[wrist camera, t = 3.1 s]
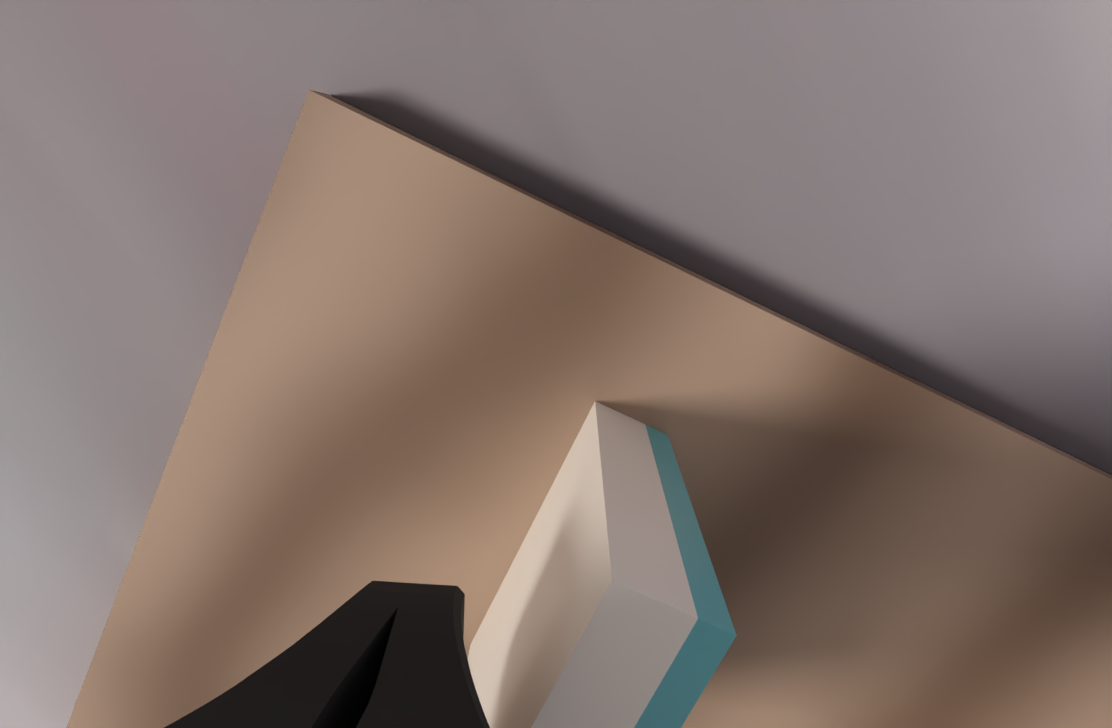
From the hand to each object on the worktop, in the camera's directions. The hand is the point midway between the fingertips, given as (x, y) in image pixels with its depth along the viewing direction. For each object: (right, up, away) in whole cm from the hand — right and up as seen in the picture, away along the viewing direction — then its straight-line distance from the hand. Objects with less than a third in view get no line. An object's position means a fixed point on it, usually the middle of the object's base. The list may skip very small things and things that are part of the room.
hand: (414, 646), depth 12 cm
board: (+4, -2, +7) cm, 9 cm away
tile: (+2, 0, +5) cm, 6 cm away
